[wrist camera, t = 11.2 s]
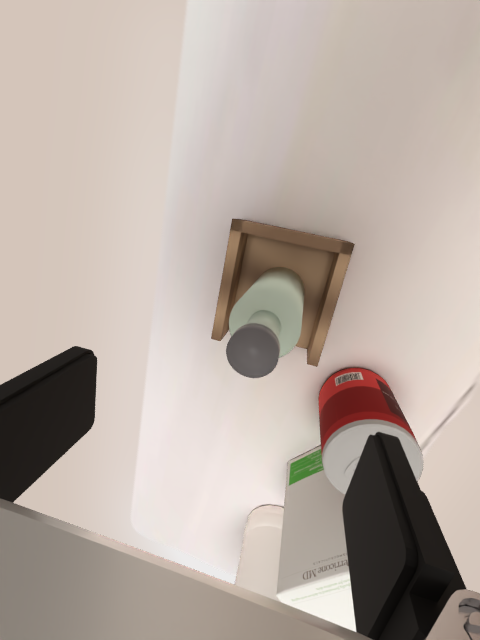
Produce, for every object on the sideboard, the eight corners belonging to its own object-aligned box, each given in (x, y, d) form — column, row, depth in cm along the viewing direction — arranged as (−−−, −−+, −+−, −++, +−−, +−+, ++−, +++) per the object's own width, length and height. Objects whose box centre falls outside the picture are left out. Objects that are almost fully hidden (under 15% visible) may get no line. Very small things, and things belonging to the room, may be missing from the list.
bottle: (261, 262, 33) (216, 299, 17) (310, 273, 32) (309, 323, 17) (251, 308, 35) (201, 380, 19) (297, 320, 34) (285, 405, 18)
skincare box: (341, 433, 38) (363, 566, 23) (372, 474, 38) (412, 627, 24) (284, 462, 40) (271, 596, 26) (314, 499, 41) (318, 650, 27)
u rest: (242, 219, 33) (232, 218, 29) (348, 241, 31) (354, 244, 27) (222, 325, 37) (211, 338, 32) (316, 349, 35) (317, 366, 31)
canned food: (305, 404, 38) (304, 471, 27) (344, 352, 35) (360, 405, 24) (361, 437, 37) (381, 519, 27) (405, 388, 35) (447, 457, 24)
